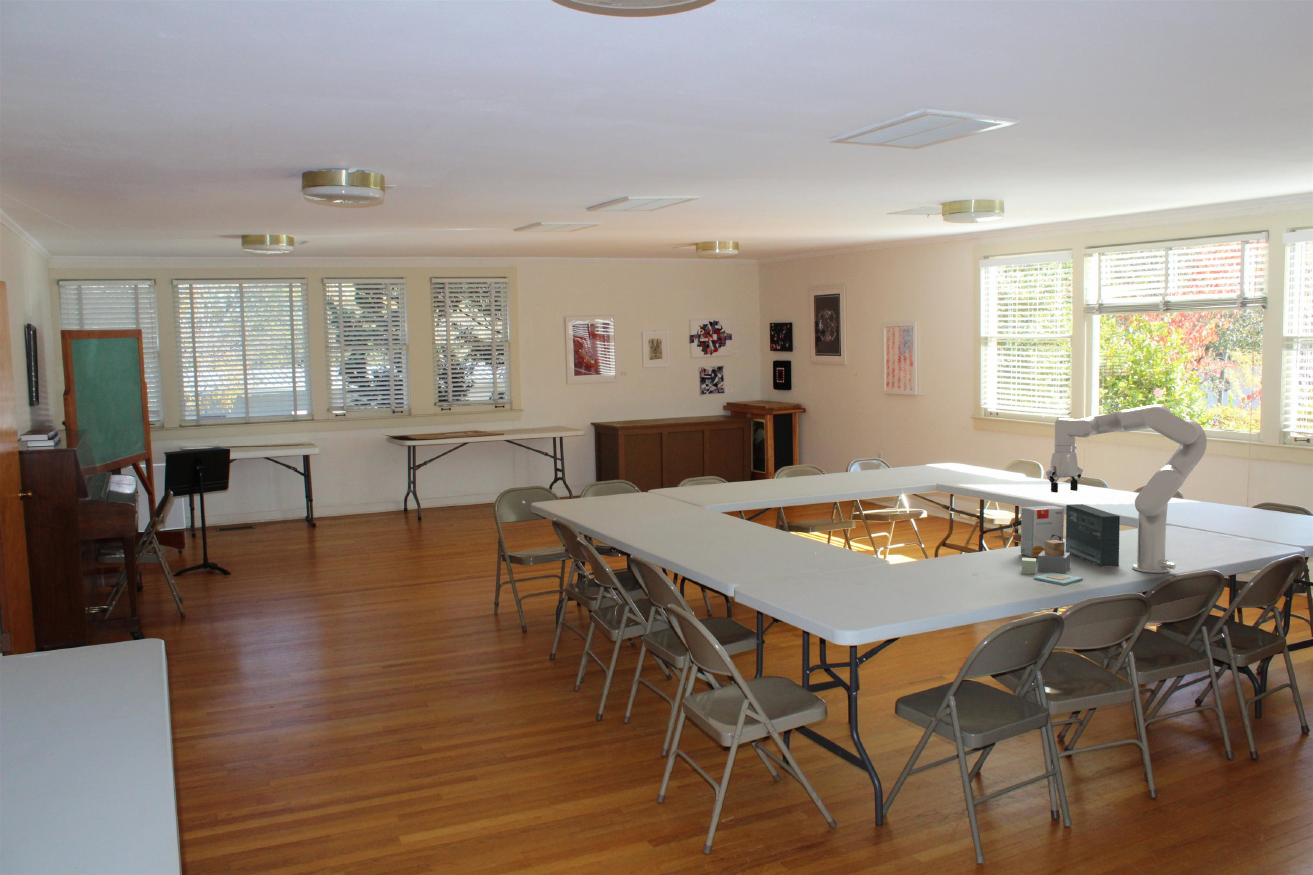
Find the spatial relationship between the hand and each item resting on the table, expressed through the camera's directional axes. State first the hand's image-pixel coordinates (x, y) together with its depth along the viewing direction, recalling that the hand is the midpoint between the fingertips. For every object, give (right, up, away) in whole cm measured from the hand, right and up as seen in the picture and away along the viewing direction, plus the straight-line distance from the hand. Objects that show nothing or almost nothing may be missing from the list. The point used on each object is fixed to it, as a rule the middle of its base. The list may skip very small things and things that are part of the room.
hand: (1064, 491), depth 372 cm
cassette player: (+13, -28, +5) cm, 31 cm away
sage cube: (-20, -30, -15) cm, 39 cm away
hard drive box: (-3, -28, +15) cm, 31 cm away
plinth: (-9, -30, -11) cm, 33 cm away
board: (-14, -31, -28) cm, 44 cm away
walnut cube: (-9, -24, -11) cm, 28 cm away
